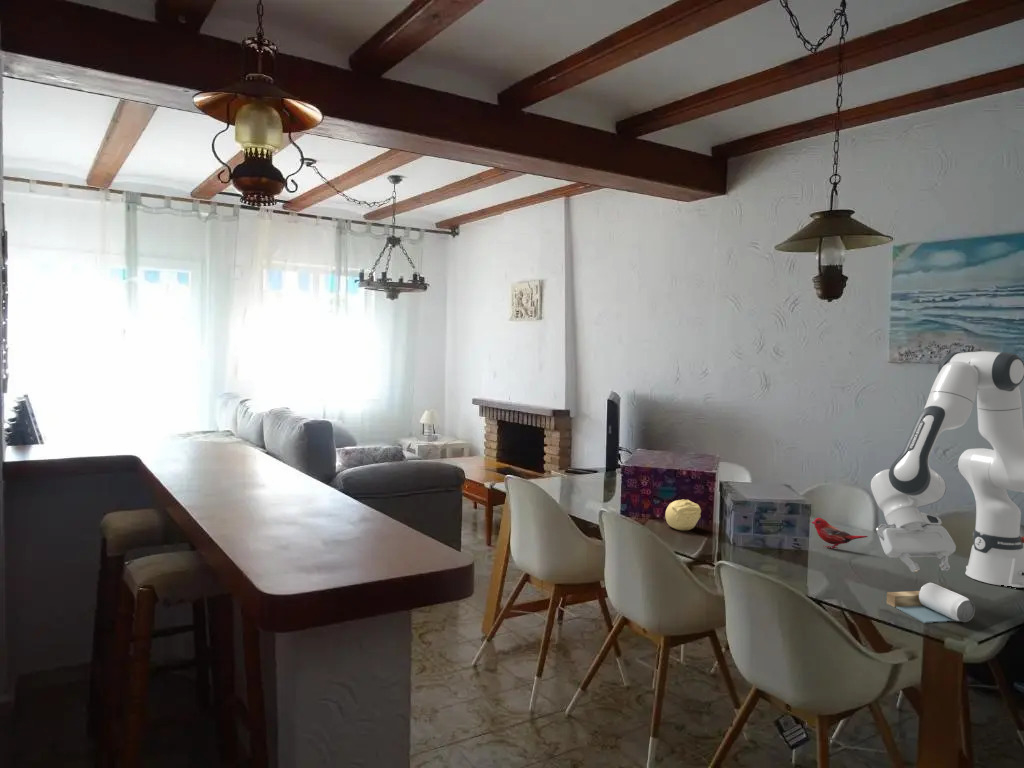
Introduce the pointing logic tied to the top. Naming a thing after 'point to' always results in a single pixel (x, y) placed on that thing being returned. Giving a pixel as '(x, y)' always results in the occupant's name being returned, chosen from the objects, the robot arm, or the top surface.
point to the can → (946, 602)
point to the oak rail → (903, 598)
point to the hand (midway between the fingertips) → (931, 570)
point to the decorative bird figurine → (832, 533)
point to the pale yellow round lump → (682, 514)
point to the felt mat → (924, 614)
